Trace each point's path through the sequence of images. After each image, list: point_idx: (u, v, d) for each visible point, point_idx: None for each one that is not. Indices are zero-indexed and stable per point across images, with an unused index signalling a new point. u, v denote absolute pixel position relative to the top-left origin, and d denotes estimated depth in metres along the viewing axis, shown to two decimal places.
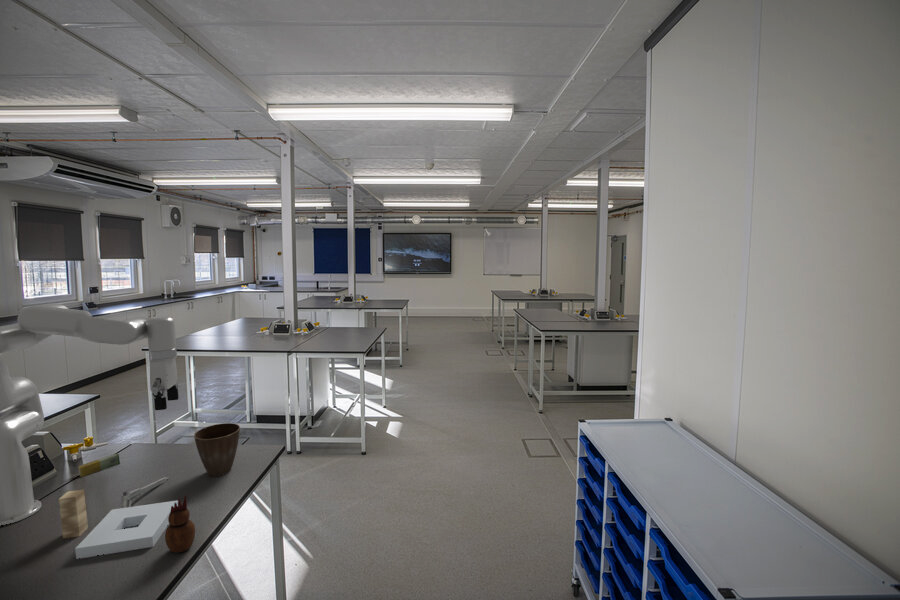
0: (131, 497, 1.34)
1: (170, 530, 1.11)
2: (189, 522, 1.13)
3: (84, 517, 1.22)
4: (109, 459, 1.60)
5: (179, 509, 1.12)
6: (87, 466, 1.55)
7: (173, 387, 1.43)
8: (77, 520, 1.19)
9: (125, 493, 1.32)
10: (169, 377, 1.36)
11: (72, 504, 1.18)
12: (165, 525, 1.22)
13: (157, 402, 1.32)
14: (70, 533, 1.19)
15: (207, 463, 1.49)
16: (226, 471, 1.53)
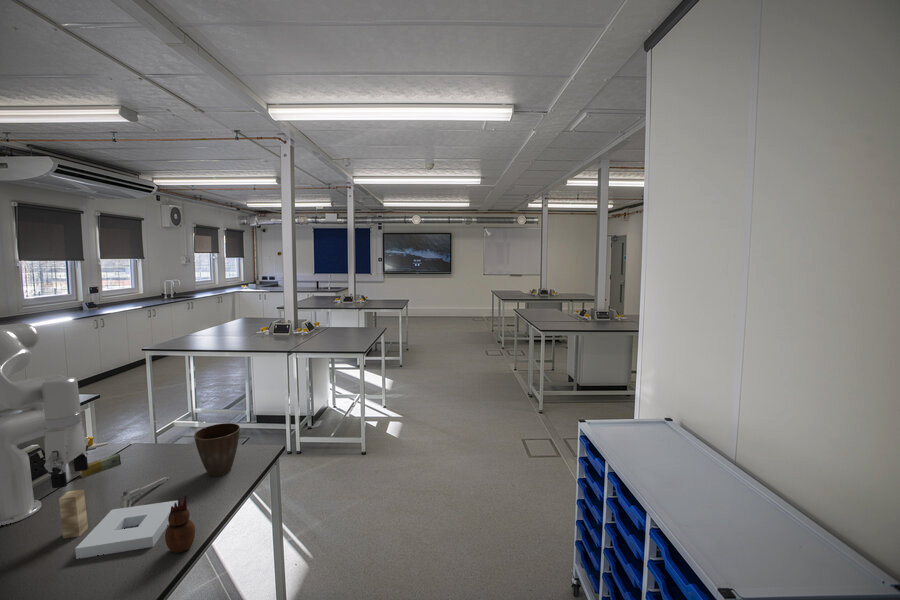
0: (131, 497, 1.34)
1: (170, 530, 1.11)
2: (189, 522, 1.13)
3: (84, 517, 1.22)
4: (110, 459, 1.60)
5: (179, 509, 1.12)
6: (88, 466, 1.54)
7: (81, 456, 1.23)
8: (77, 520, 1.19)
9: (125, 493, 1.32)
10: (71, 448, 1.17)
11: (72, 504, 1.18)
12: (165, 525, 1.22)
13: (54, 479, 1.13)
14: (70, 533, 1.19)
15: (207, 463, 1.49)
16: (226, 471, 1.53)
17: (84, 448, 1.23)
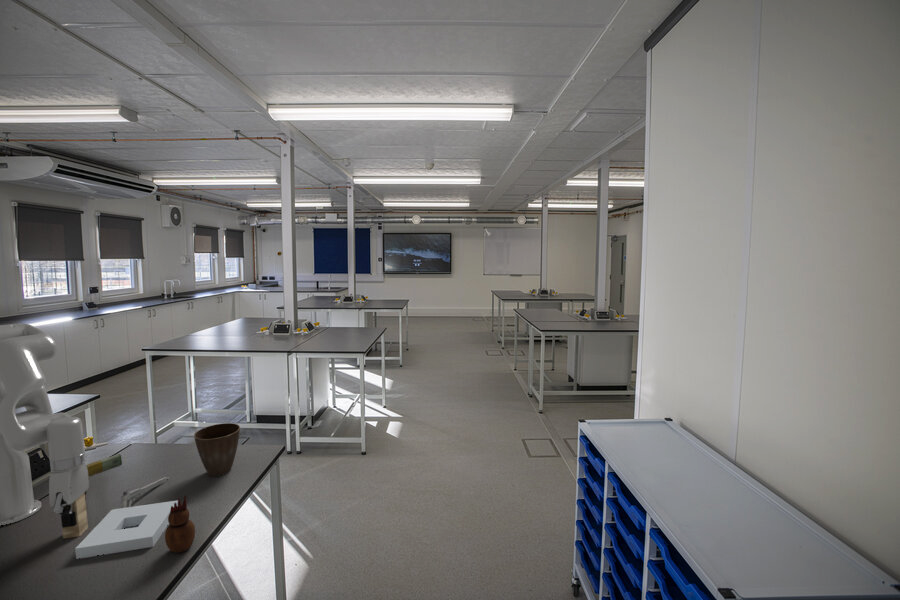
0: (131, 497, 1.34)
1: (170, 530, 1.11)
2: (189, 522, 1.13)
3: (84, 517, 1.22)
4: (111, 460, 1.60)
5: (179, 509, 1.12)
6: (89, 467, 1.54)
7: None
8: (77, 520, 1.19)
9: (125, 493, 1.32)
10: (75, 488, 1.18)
11: None
12: (165, 525, 1.22)
13: (64, 519, 1.17)
14: (70, 533, 1.19)
15: (207, 463, 1.49)
16: (226, 471, 1.53)
17: (87, 486, 1.24)
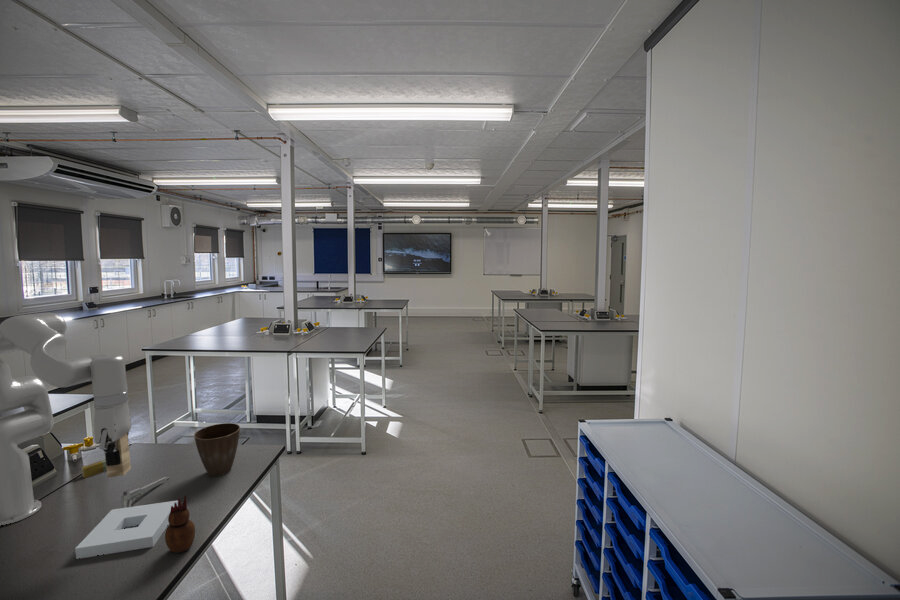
0: (131, 497, 1.34)
1: (170, 530, 1.11)
2: (189, 522, 1.13)
3: (127, 457, 1.20)
4: None
5: (179, 509, 1.12)
6: (90, 467, 1.54)
7: None
8: (121, 459, 1.17)
9: (125, 493, 1.32)
10: (119, 426, 1.16)
11: None
12: (165, 525, 1.22)
13: (108, 457, 1.15)
14: (114, 472, 1.17)
15: (207, 463, 1.49)
16: (226, 471, 1.53)
17: (130, 427, 1.22)
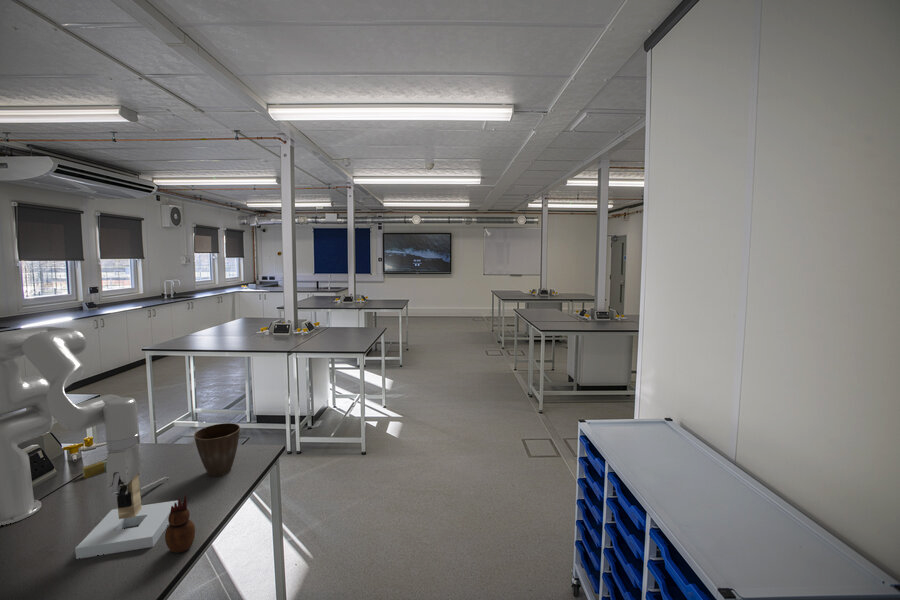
0: None
1: (170, 530, 1.11)
2: (189, 522, 1.13)
3: (138, 498, 1.21)
4: None
5: (179, 509, 1.12)
6: (91, 467, 1.53)
7: None
8: (132, 501, 1.18)
9: None
10: (130, 469, 1.17)
11: None
12: (165, 525, 1.22)
13: (120, 499, 1.17)
14: (126, 514, 1.18)
15: (207, 463, 1.49)
16: (226, 471, 1.53)
17: (140, 468, 1.23)
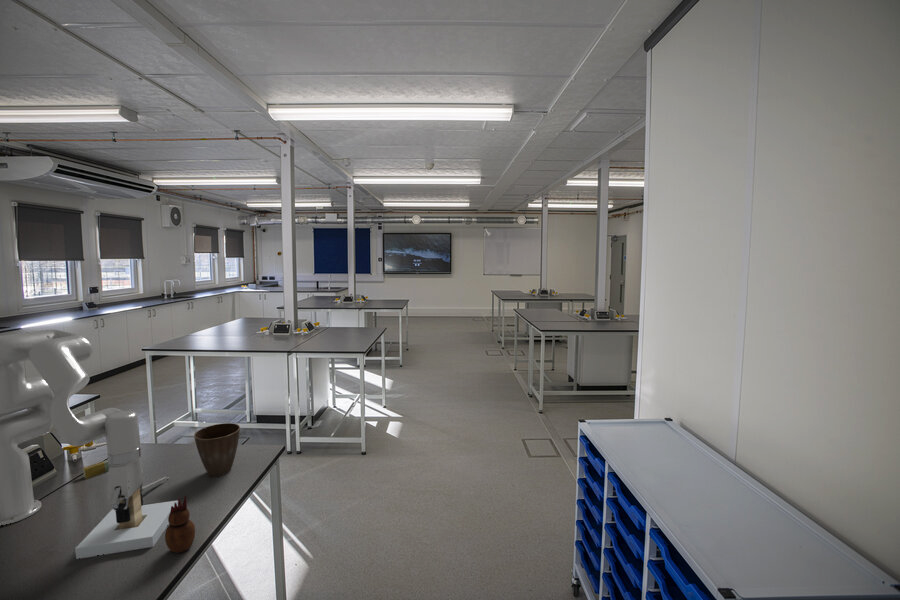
0: None
1: (170, 530, 1.11)
2: (189, 522, 1.13)
3: (140, 516, 1.22)
4: None
5: (179, 509, 1.12)
6: (91, 468, 1.53)
7: None
8: (133, 519, 1.19)
9: None
10: (132, 482, 1.18)
11: (129, 503, 1.18)
12: (165, 525, 1.22)
13: (119, 514, 1.16)
14: None
15: (207, 463, 1.49)
16: (226, 471, 1.53)
17: (142, 481, 1.24)
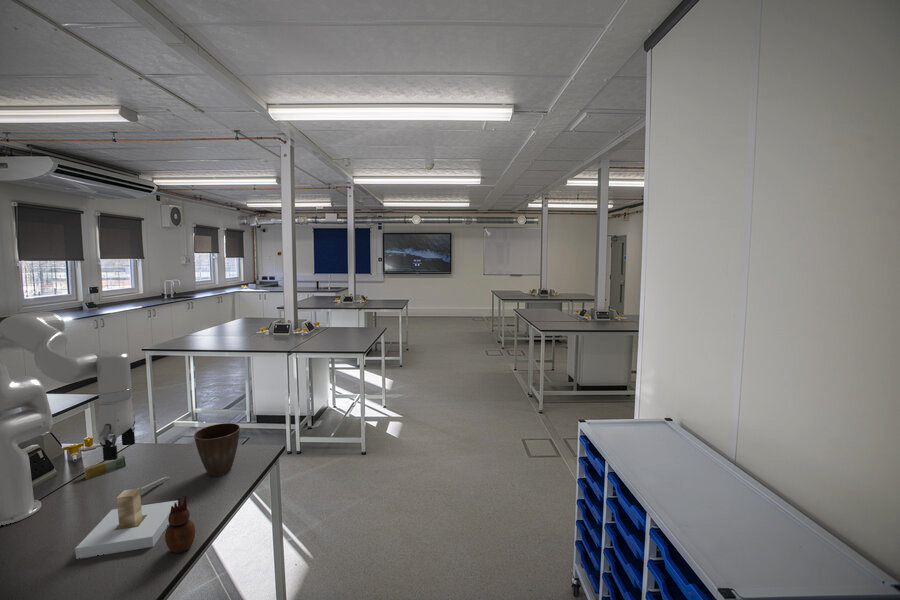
0: None
1: (170, 530, 1.11)
2: (189, 522, 1.13)
3: (140, 516, 1.22)
4: (115, 461, 1.58)
5: (179, 509, 1.12)
6: (92, 468, 1.53)
7: (129, 430, 1.26)
8: (134, 519, 1.19)
9: None
10: (122, 422, 1.19)
11: (129, 503, 1.18)
12: (165, 525, 1.22)
13: (106, 452, 1.15)
14: None
15: (207, 463, 1.49)
16: (226, 471, 1.53)
17: (132, 423, 1.25)
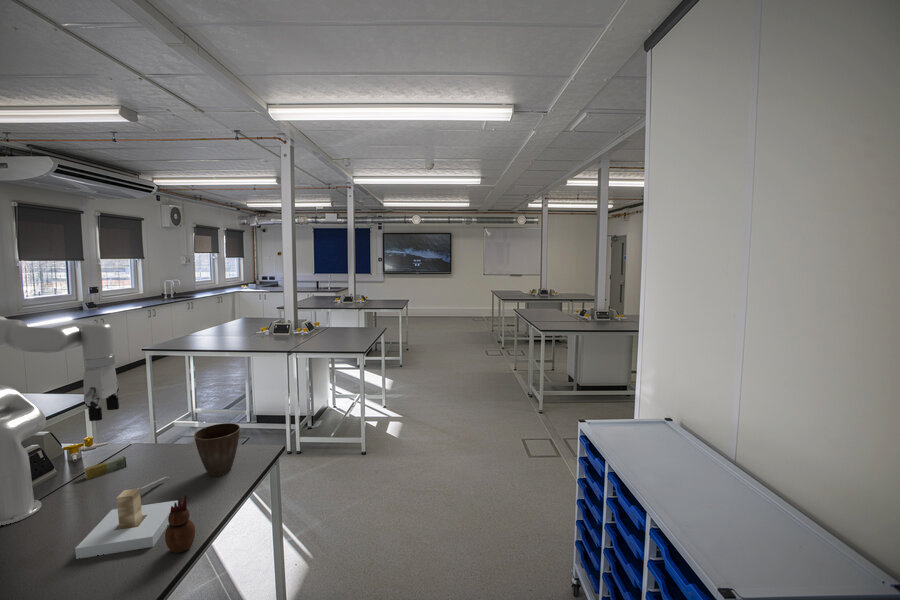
0: None
1: (170, 530, 1.11)
2: (189, 522, 1.13)
3: (140, 516, 1.22)
4: (115, 462, 1.58)
5: (179, 509, 1.12)
6: (93, 469, 1.52)
7: (113, 396, 1.37)
8: (133, 519, 1.19)
9: None
10: (106, 386, 1.30)
11: (129, 503, 1.18)
12: (165, 525, 1.22)
13: (91, 413, 1.26)
14: None
15: (207, 463, 1.49)
16: (226, 471, 1.53)
17: (116, 389, 1.36)
